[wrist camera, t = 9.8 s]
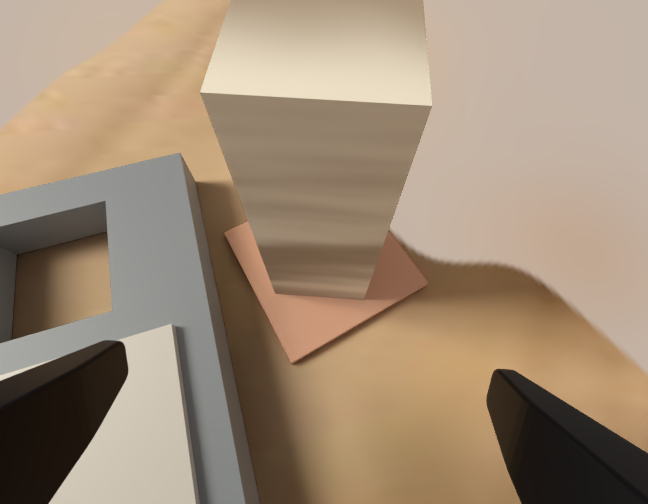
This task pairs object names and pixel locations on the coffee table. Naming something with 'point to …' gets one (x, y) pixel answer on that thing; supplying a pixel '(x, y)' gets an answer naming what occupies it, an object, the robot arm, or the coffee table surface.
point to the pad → (322, 312)
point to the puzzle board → (139, 336)
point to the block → (319, 130)
